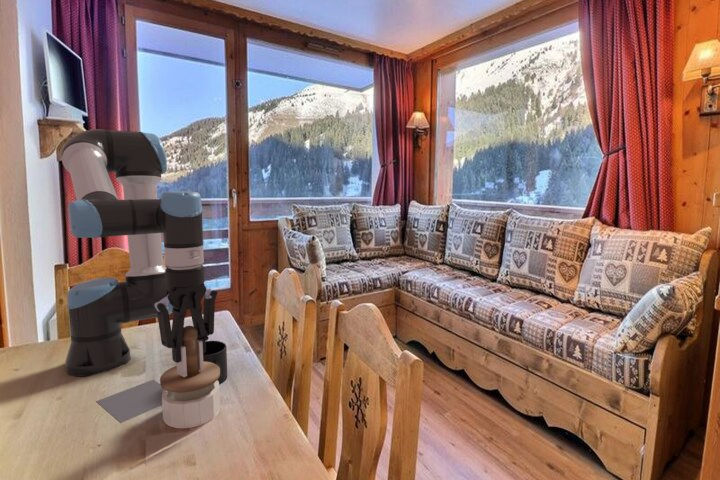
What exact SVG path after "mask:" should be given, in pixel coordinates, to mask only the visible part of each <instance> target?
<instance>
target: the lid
mask: <svg viewBox="0 0 720 480" xmlns="http://www.w3.org/2000/svg"><path fill="white" fill-rule="evenodd" d="M197 336H198V332H197V329H196V328H195V327H194V326H193V325H185V326H184V329H183V339H182V346H185V347H186V363H187V376H186V377H182V376H181V375H179V374H177V365H175V366H173V367H171V368H169V369H167V370H166V371H164V372H163V373H162V374H161V375H160V379H159V384H160V385H161V387H162V388H163V389H164V390H166V391H170V392H191V391H196V390H199V389H202V388H205V387H207V386H209V385H211V384H213V383H214V382H216V381H217V380H218V378H219V377H220V368H219V366H218V365H216V364H214V363H211V362H205V361H203V364H204V369H203V370H201V371H200V370H199V368H198V348H197Z"/></svg>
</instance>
